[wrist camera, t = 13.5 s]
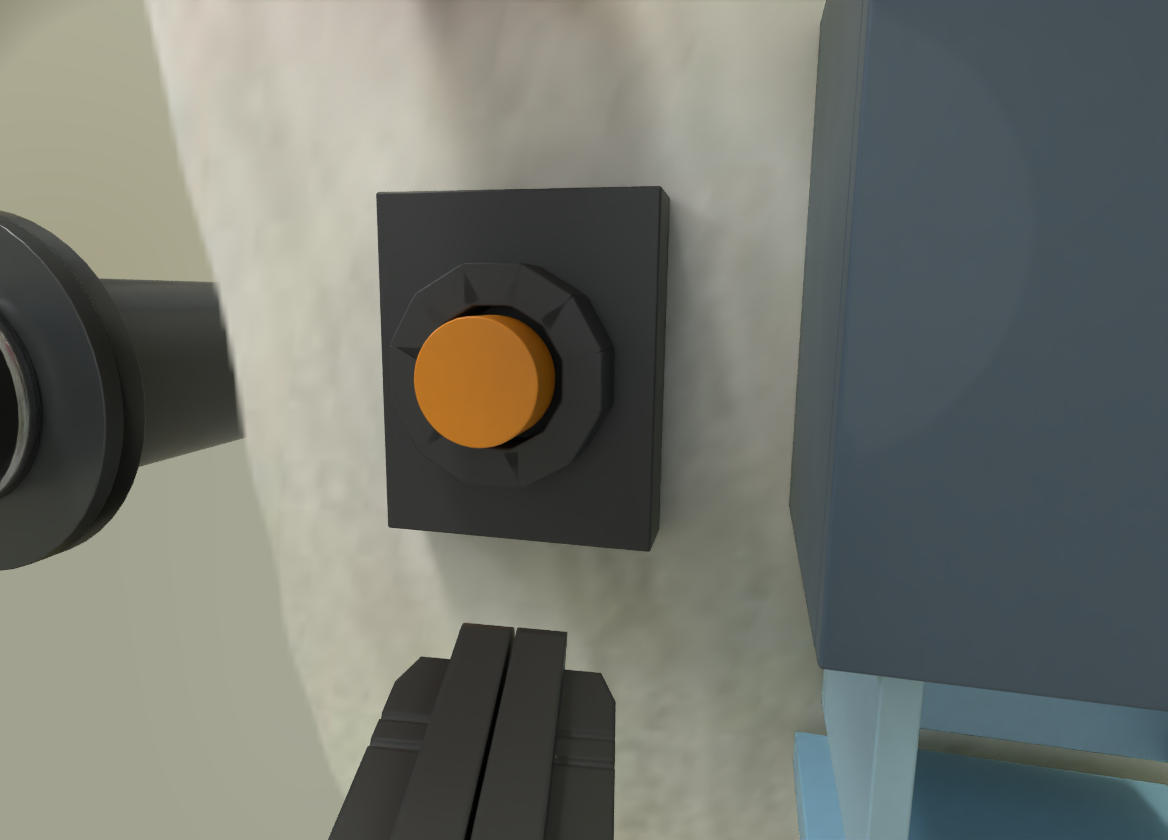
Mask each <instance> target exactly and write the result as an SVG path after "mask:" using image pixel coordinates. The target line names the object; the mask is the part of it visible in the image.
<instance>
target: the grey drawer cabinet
mask: <svg viewBox="0 0 1168 840" xmlns="http://www.w3.org/2000/svg"><path fill="white" fill-rule="evenodd" d="M789 507H790V514H791V519H792V525H793V530H794V536H795V542H796V547H797V553H798V558H799V564H800V569H801V575H802V580H803V586H804V591H805V597H806V602H807V608H808V614H809V619H810V625H811V630H812V636H813V641H814V646H815V650H816V655H817V661H818V665H819V667H820V668H822V669H827V670H835V671H843V672H851V673H859V674H867V675H875V676H883V677H891V678H899V679H907V680H915V681H923V682H931V683H939V684H947V685H956V686H964V687H972V688H980V689H988V690H996V691H1004V692H1012V693H1020V694H1028V695H1036V696H1044V697H1052V698H1060V699H1068V700H1076V701H1084V702H1093V703H1101V704H1109V705H1117V706H1125V707H1133V708H1141V709H1149V710H1157V711H1165V712H1168V0H826V3H825V7H824V11H823V15H822V19H821V23H820V38H819V53H818V69H817V84H816V99H815V115H814V130H813V145H812V161H811V176H810V191H809V207H808V222H807V237H806V253H805V268H804V283H803V299H802V314H801V329H800V344H799V360H798V375H797V390H796V406H795V421H794V436H793V452H792V467H791V482H790V498H789Z"/></svg>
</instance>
